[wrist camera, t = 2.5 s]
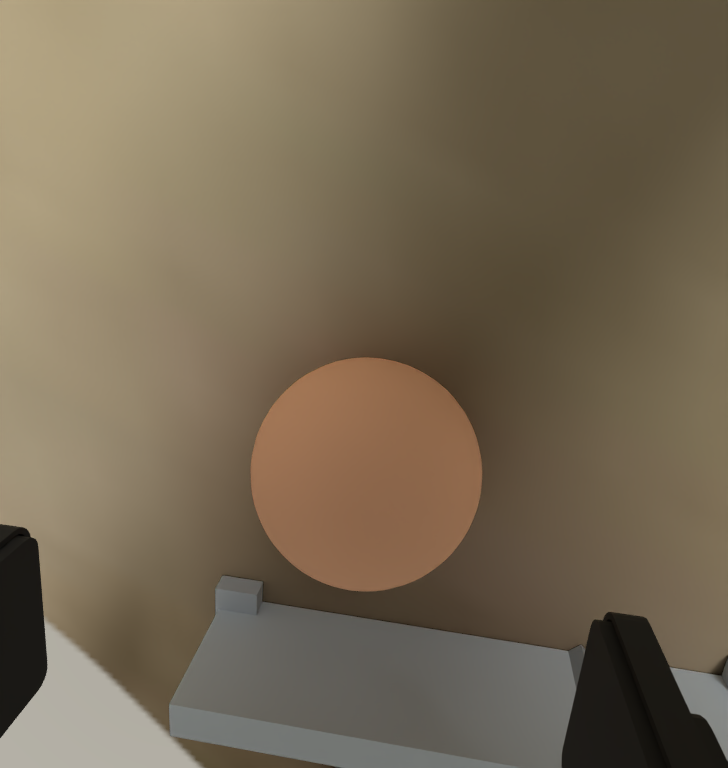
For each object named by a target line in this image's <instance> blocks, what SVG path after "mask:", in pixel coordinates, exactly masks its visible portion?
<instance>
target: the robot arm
mask: <svg viewBox="0 0 728 768" xmlns="http://www.w3.org/2000/svg"><path fill="white" fill-rule="evenodd" d="M46 672H47V653H46V641H45V628H44V615H43V602H42V589H41V576H40V563H39V550H38V543H37V541H36V539H34V538H31V537H30V533H29V532H28V530H27V529H25V528H23V527H16V526H9V525H2V524H0V738H1V737H2V735H3V734H4V733H5V731H6V730H7V729H8V727H9V726H10V725H11V724H12V723H13V721H14V720H15V718H17V716H18V715H19V714H20V713H21V711H22V710H23V709H24V708H25V706H26V705H27V704H28V702H29V701H30V700H31V699H32V697H33V696H34V695H35V694H36V692H37V691H38V690H39V688H40V687H41V685H42V683H43V681H44V679H45V676H46ZM561 765H562V768H728V761H727V759H726V757H725V755H724V753H723V751H722V749H721V747H720V745H719V742H718V740H717V738H716V736H715V734H714V732H713V730H712V728H711V727H710V725H709V723H708V722H707V720H706V719H705V718H704V717H702V716H701V715H698V714H692V713H690V711H689V708H688V706H687V704H686V702H685V700H684V698H683V695H682V693H681V691H680V689H679V687H678V684H677V682H676V680H675V678H674V676H673V674H672V671H671V669H670V667H669V665H668V663H667V661H666V658H665V656H664V654H663V652H662V650H661V647H660V645H659V643H658V641H657V639H656V637H655V634H654V632H653V630H652V628H651V626H650V624H649V622H648V620H647V619H646V618H644V617H640V616H633V615H626V614H619V613H613V612H608V613H606V615H605V617H604V620H603V621H602V620H594V621H593V622H592V625H591V628H590V632H589V637H588V641H587V645H586V650H585V654H584V658H583V663H582V667H581V671H580V675H579V680H578V684H577V688H576V693H575V697H574V701H573V706H572V710H571V714H570V719H569V723H568V727H567V732H566V736H565V740H564V745H563V749H562V764H561Z"/></svg>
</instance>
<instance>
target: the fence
mask: <svg viewBox="0 0 728 768" xmlns="http://www.w3.org/2000/svg"><path fill="white" fill-rule="evenodd" d="M262 597H263V582H262V581H255V580H249V579H243V578H236V577H230V576H224V575H223V576H222V577H221V579H220V581H219V583H218V585H217V586H216V588H215V617H214V619H213V621H212V623H211V625H210V627H209V629H208V631H207V633H206V635H205V636H204V638H203V640H202V642H201V644H200V646H199V648H198V650H197V652H196V654H195V656H194V657H193V659H192V661H191V663H190V665H189V667H188V669H187V671H186V673H185V675H184V677H183V678H182V680H181V682H180V684H179V686H178V688H177V690H176V692H175V694H174V696H173V698H172V699H171V701H170V703H169V719H170V736H173V737H179V738H184V739H190V740H195V741H200V742H206V743H211V744H217V745H222V746H227V747H233V748H238V749H244V750H249V751H254V752H260V753H265V754H271V755H276V756H281V757H287V758H292V759H298V760H303V761H308V762H314V763H319V764H325V765H330V766H335V767H341V768H562V765H561V764H562V749H563V745H564V740H565V736H566V732H567V727H568V723H569V719H570V714H571V710H572V706H573V701H574V697H575V693H576V685H575V681H574V676H573V671H572V667H571V662H570V657H569V653H568V651H565V650H559V649H553V648H547V647H540V646H534V645H528V644H522V643H516V642H509V641H503V640H497V639H491V638H485V637H478V636H472V635H466V634H460V633H454V632H447V631H441V630H435V629H429V628H423V627H416V626H410V625H404V624H398V623H391V622H385V621H379V620H373V619H367V618H360V617H354V616H348V615H342V614H336V613H329V612H323V611H317V610H311V609H305V608H298V607H292V606H286V605H280V604H274V603H267V602H262ZM670 669H671V671H672V674H673V676H674V678H675V680H676V682H677V684H678V687H679V689H680V691H681V693H682V695H683V698H684V700H685V702H686V704H687V706H688V708H689V711H690V713H692V714H698V715H701V716H702V717H704V718H705V719H706V720H707V722H708V723H709V725H710V727H711V728H712V730H713V732H714V734H715V736H716V738H717V740H718V742H719V745H720V747H721V749H722V751H723V753H724V755H725V757H726V759H727V761H728V659H727V662H726V665H725V667H724V670H723V673H722V676H720V675H714V674H708V673H702V672H695V671H689V670H683V669H677V668H671V667H670Z"/></svg>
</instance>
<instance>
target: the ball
mask: <svg viewBox="0 0 728 768" xmlns="http://www.w3.org/2000/svg"><path fill="white" fill-rule="evenodd" d="M250 471H251V490H252V496H253V501H254V505H255V508H256V511H257V514H258V517H259V519H260V522H261V524H262V526H263V528H264V530H265V532H266V534H267V535H268V537H269V538H270V540H271V541H272V543H273V544H274V545H275V547H276V548H277V549H278V550H279V551H280V553H281V554H282V555H283V556H284V557H285V558H286V559H287V560H288V561H289V562H290V563H291V564H292V565H294V566H295V567H296V568H298V569H299V570H300V571H302V572H303V573H305V574H306V575H308V576H310V577H312V578H313V579H315V580H318V581H320V582H322V583H324V584H327V585H330V586H333V587H336V588H341V589H346V590H352V591H380V590H387V589H391V588H395V587H399V586H403V585H405V584H408V583H411V582H413V581H415V580H417V579H419V578H421V577H423V576H425V575H426V574H428V573H429V572H431V571H432V570H434V569H435V568H436V567H438V566H439V565H440V564H442V563H443V562H444V561H445V560H446V559H447V558H448V557H449V556H450V555H451V554H452V553H453V552H454V550H455V549H456V548H457V547H458V545H459V544H460V543H461V541H462V540H463V538H464V537H465V535H466V533H467V532H468V530H469V528H470V526H471V524H472V521H473V519H474V516H475V514H476V511H477V508H478V504H479V500H480V496H481V486H482V460H481V455H480V450H479V445H478V441H477V438H476V435H475V432H474V430H473V427H472V425H471V423H470V421H469V419H468V417H467V416H466V414H465V412H464V411H463V409H462V408H461V406H460V405H459V404H458V402H457V401H456V399H455V398H454V397H453V396H452V395H451V394H450V393H449V392H448V391H447V390H446V389H445V388H444V387H443V386H442V385H440V384H439V383H438V382H437V381H436V380H434V379H433V378H431V377H430V376H428V375H426V374H425V373H423V372H422V371H420V370H417V369H415V368H413V367H411V366H409V365H406V364H403V363H399V362H396V361H392V360H387V359H382V358H368V357H362V358H350V359H345V360H340V361H336V362H333V363H330V364H327V365H324V366H322V367H320V368H318V369H316V370H314V371H312V372H310V373H308V374H306V375H304V376H303V377H302V378H300V379H299V380H297V381H296V382H294V383H293V384H292V385H291V386H290V387H289V388H288V389H287V390H286V391H285V392H284V393H283V394H282V395H281V396H280V397H279V398H278V399H277V401H276V402H275V403H274V404H273V406H272V407H271V409H270V410H269V412H268V414H267V415H266V417H265V419H264V421H263V423H262V425H261V427H260V429H259V432H258V434H257V437H256V441H255V445H254V449H253V453H252V459H251V470H250Z"/></svg>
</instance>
